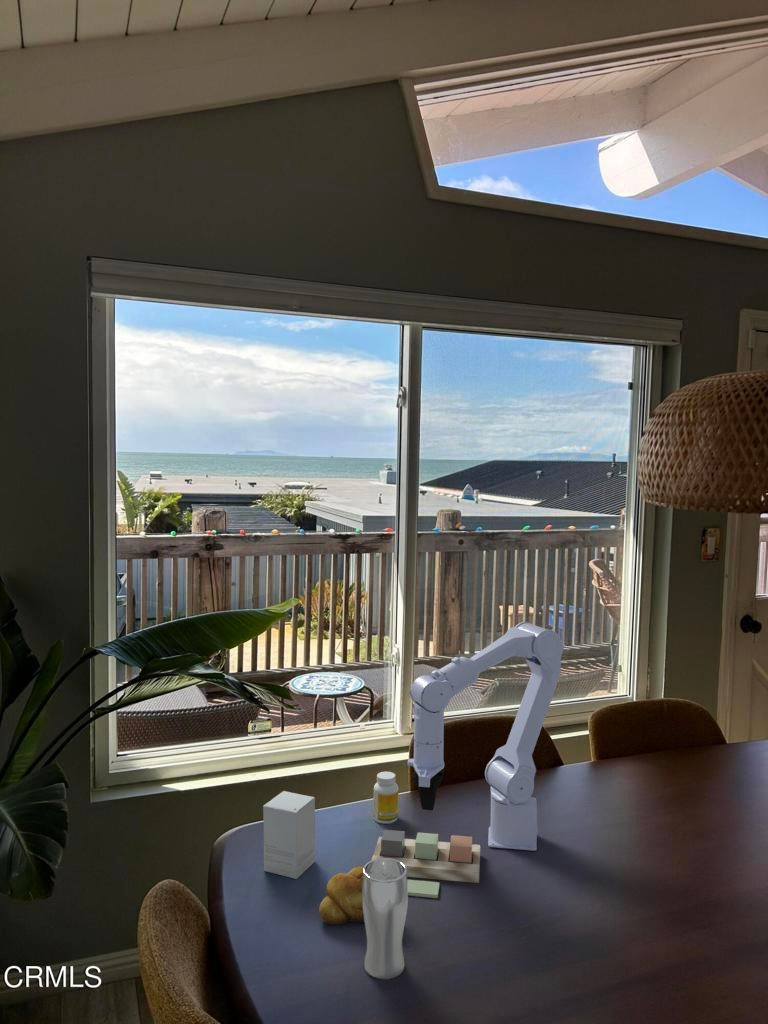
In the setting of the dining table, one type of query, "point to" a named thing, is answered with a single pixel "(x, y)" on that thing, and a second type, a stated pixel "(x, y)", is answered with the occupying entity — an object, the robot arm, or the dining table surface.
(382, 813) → the supplement bottle
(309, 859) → the supplement box
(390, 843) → the key charcoal
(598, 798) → the dining table surface
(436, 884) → the tile
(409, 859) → the key console
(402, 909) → the beer glass
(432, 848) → the key sage
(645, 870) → the dining table surface
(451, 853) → the key terracotta
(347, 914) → the bread roll
